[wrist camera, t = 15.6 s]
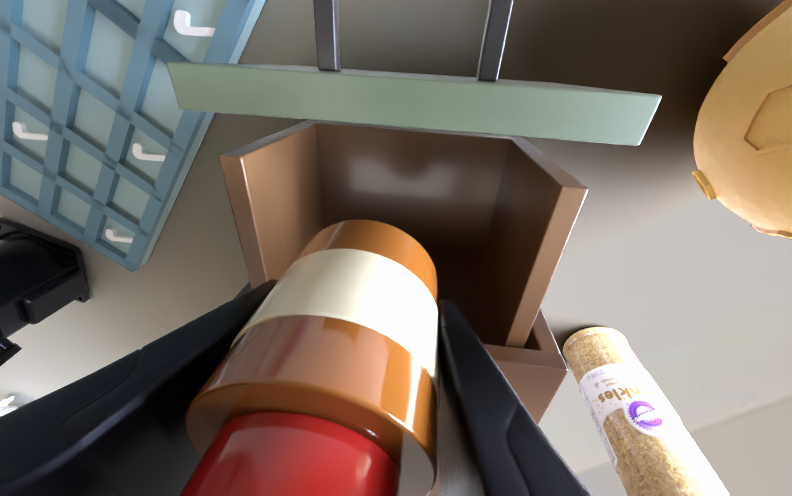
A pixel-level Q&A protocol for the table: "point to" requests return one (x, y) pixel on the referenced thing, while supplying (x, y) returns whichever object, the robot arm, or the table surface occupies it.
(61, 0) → the calendar
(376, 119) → the drawer
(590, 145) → the table surface
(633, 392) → the sprinkles bottle
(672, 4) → the table surface
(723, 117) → the stress ball
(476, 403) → the robot arm
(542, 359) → the cabinet
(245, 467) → the spice bottle
